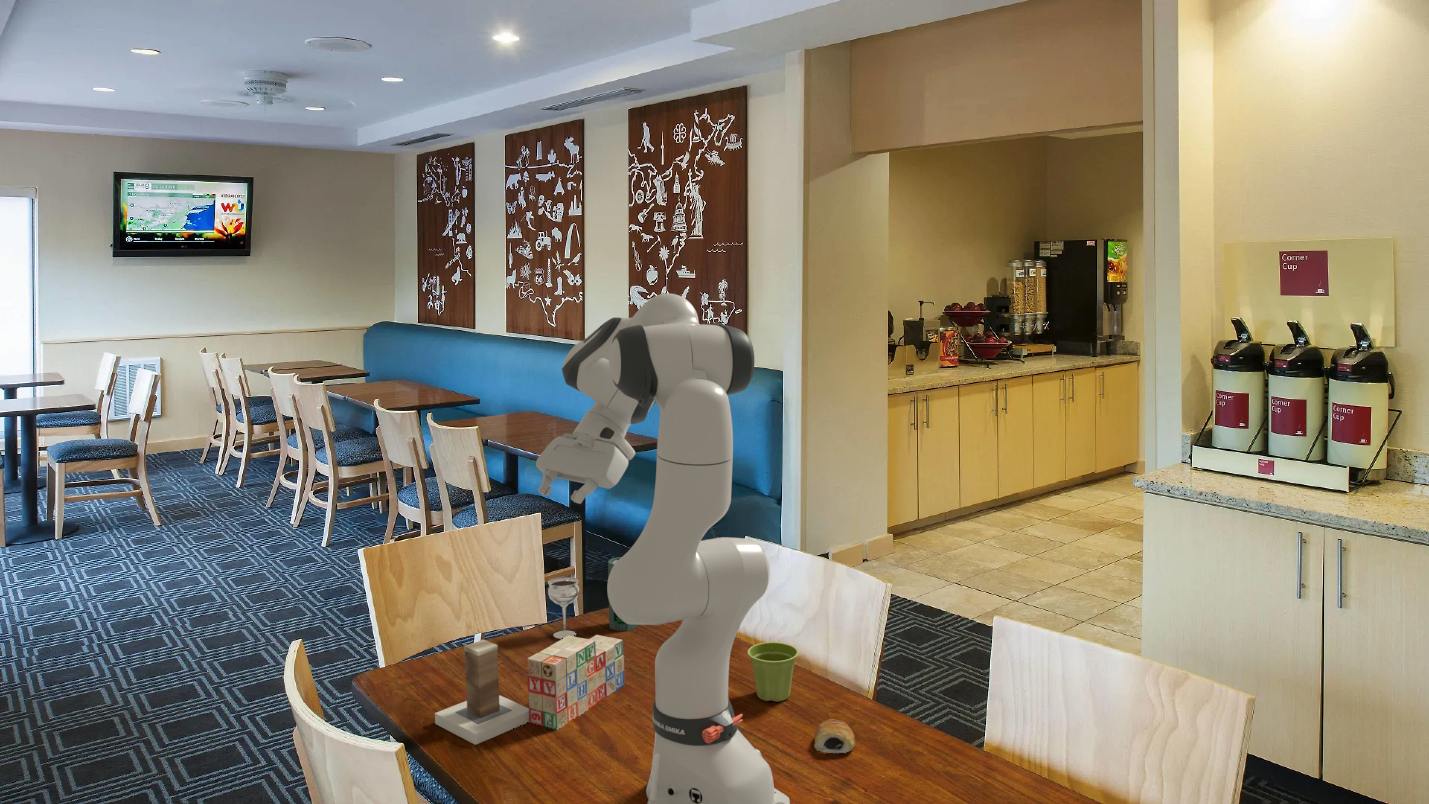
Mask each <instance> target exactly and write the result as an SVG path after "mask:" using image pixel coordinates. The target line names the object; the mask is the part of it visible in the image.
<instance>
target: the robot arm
mask: <svg viewBox="0 0 1429 804" xmlns="http://www.w3.org/2000/svg"><path fill="white" fill-rule="evenodd" d="M755 361H756V360H755V352H754V345H753V343H752V340H751V339H750V337H749V336H748V335H747V334H746V333H745V332H744V331H743V330H742V329H739V328H737V327H734V326H729V325H725V324H723V323H720V322H718V321H716V322H715V323H714V324H713V323H712V324H705V323H703V324H700V321H699V316H698V313H697V310H696V308H695V307H694V306H693V304H692V303H691V302H690V301H689V300H687V299H686V298H685V297H683V296H681V295H679V294H676V293H669V292H667V293H661V294H657V295H655V296H653V297H651V298H650V299H649V300H647V301H646V302H645V303H644V304H643V305H641V306H640V307H639V309H638V310H637V311H636V312H635V313H634V315H633V316H632V317H611V318H609V319H608V320H607V321H605V322H603V323H602V324H601V325H600V326H598V327H597V328H596V329H595V330H594V331H592V333H591V334H589V335H588V336H587V337H586V338H584V339H582V340H581V341H579V342H577V343H576V344H575V345H574V346H573V347H572V348H571V349H570V350H569V352H568V353H567V355H566V356H565V358H564V361H563V363H562V367H561V371H562V372H561V373H562V376H563V379H564V382H565V385H567V386H569V387H570V388H573V389H574V390H577V391H578V392H581V393H583V395H586V396H587V397H589V398H591V399H592V400H593V401H594V404H593V406H592V407H590V408H589V409H588V410H587V412H585V413H584V415H583V416H582V418H581V419H580V421H579V423H578V424H577V426H576V427H575V429H574V430H573V432H572V433H568V432H566V433H564V434H563V435H560V436H557V437H556V438H554V439H553V440H551V442H550V443H549V444H548V445H547V446H546V447H545V449H544V450H543V451H542V452H541V454H540V455H539V456H538V458H537V459H536V461H535V466H536V468H537V469H538V470H539V471H540V472H541V473H542V478H541V484H540V485H539V487H538V489H537V492H538V493H539V494H541V496H546V497H547V496H549V495H550V493H551V492H552V491H553V488H552V482H555V481H556V479H562V480H565V481H566V480H567V481H571V482H577V483H580V484H583V485H582V486H580V488H579V489H578V490H573V492H572V494H571V495H570V500H572V501H573V503H576V504H579V505H581V504H582V503H583V501H584V500H585V498H586V497H588V496H589V495H590V494H593V492H595V491H596V489H597V488H598V487H600V488H604V489H608V490H610V489H611V488H614V487H615V486H616V485H617V484H618V483H619V482H620V480H621V479H622V477H623V476H624V473H625V472H626V470H627V469H628V467H629V461H631V460H632V459H633V458H634V457H635V456H636V451H635V449H634V447H632V446H631V444H630V443H629V442H628V441H627V440H626V436H627V432H628V430H629V428H630V426H631V425H635V424H639V423H643V422H645V420H646V418H647V415H648V413H649V411H650V410H651V408H652V407H653V406H654V405H655V404H657V406H658V409H659V424H658V432H657V433H658V435H657V440H656V441H657V442H656V444H657V445H656V449H657V450H656V466H655V467H656V470H655V471H656V472H655V483H654V485H655V486H654V495H653V503H652V508H651V511H650V513H649V517H648V520H647V521H646V524H645V525H644V527H643V530H642V531H641V533H640V535H639V536H638V538H637V539H636V540H635V542H634V544H633V545H632V546H631V547H630V549H628V551H627V552H626V553H625V554H624V555H623V556H621V557H622V558H620V557H619V558H620V559H619V560H618V561H617V562H616V563H615V565H614V566H613V568H612V570H611V572H610V575H609V578H608V577H607V578H608V579H607V585H606V586H607V587H606V588H607V598H608V603H609V602H610V604H611V607H612V609H613V610H614V612H615V613H616V614H617V616H618V617H619V618H620V619H621V620H623V621H624V622H625V623H627V624H633V625H638V626H639V625H640V626H658V625H659V626H660V625H663V624H664V625H665V624H669V623H675V622H679V621H681V624H680V625H679V627H678V628H677V630H676V631H675V632H674V633H673V634H672V635H671V636H669V638H668V639H667V640H666V641H664V642H663V643H662V644H661V646H660V647H659V649H658V651H657V653H656V655H655V660H654V682H655V683H654V685H655V686H654V687H655V689H654V690H655V691H654V692H655V700H653V703H652V704H653V705H652V714H651V719H652V728H653V730H654V732H655V733H654V734H655V735H654V744H653V753H652V761H651V768H650V769H651V770H650V775H649V778H648V782H647V786H646V789H645V793H646V797H647V799H648V800H647V804H791V801H790V798H789V796H787V795H786V794H785V793H783V792H781V791H779V789H777V788H775V787H774V786H775V785H774V777H773V773H772V769H771V767H770V764H769V763H768V762H767V761H766V760H765V758H763V756H762V752H761V751H760V750H759V749H758V748H755V747H754V746H753V745H752V744H751V742H749V741H748V739H747V738H746V737H745V735H743V734H742V733H741V731H740V730H739V725H738V724H739V723H741V722H742V721H744V720H743V719H741V718H742V717H743V713H740V714H738V715H736V716H735V712H734V709H733V705H732V703H731V701H730V699H729V676H730V673H729V672H730V670H729V669H730V660H731V659H730V658H731V652H732V649H733V645H734V642H735V639H736V635H737V633H738V631H739V629H740V627H741V625H742V623H743V621H744V619H745V618H746V616H747V614H748V613H749V612H750V610H751V609H752V607H753V606H755V604H756V603H757V602H758V601H760V599H761V598H762V597H763V596H764V595H765V593H766V591H767V590H768V587H769V583H770V579H771V577H770V576H771V569H770V563H769V561H768V560H769V559H768V557H767V555H766V553H765V551H764V550H763V548H762V547H760V546H761V545H759V544H758V543H757V542H756V541H754V540H753V539H751V538H741V537H727V536H726V537H724V536H722V537H721V536H720V537H716V538H710V539H703V537H704V536H705V535H706V534H707V532H708V530H709V529H711V528H712V527H713V526H714V525H715V524H716V523H718V522H719V521H720V520H722V518H723V517H724V516H725V515H726V514H727V513H728V511H729V509H730V505H731V503H732V485H733V484H732V483H733V482H732V481H733V478H732V477H733V461H734V460H733V459H734V456H733V455H734V431H733V419H732V411H731V404H730V400H729V395H730V396H731V395H734V394H735V395H736V394H738V393H740V392H743V391H745V390H746V389H747V388H748V386H749V385H750V383H751V382H752V379H753V376H754V371H755ZM702 539H703V540H702Z"/></svg>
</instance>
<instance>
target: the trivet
mask: <svg viewBox="0 0 1429 804" xmlns="http://www.w3.org/2000/svg"><path fill="white" fill-rule="evenodd" d="M499 706H500V711H497V712H495V713H493V714H490V715H488V716H485V717H483V718H479V717H477V716H475V715H473V714H471V713H469V712H467V700H465V701H463V702H460V703H457V704H455V705H452V706H449V707H447V708H444V709H442V710H439V711H437V712H434V723H435V725H437V726H439V727H441V728H443V729H444V730H446V731H448V732H450V733H451V734H454V735H456V736H458V737H460V738H462V739H463V740H465V741H467V742H469V743H471V744H473V745H475V746H477V745H478V744H481V743H483V742H486V741H488V740H490V739H493V738H495V737H497V736H499V735H501V734H505V733H506V732H509V731H511V730H513V728H514V729H516V728H518V727H520V725H521V726H523V725H525V724H527V722H528V723H530V722H529V707H527V706H525V705H522V704H520V703H518V702H515V701H513V700H511V699H509V698H507V697H506V696H505V697H504V696H502V695H500V694H499Z"/></svg>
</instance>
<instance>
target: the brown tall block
mask: <svg viewBox="0 0 1429 804" xmlns="http://www.w3.org/2000/svg"><path fill="white" fill-rule="evenodd" d="M498 646H499V645H498V644H496V643H493V642H491V641H488V640H485V639H481V640H478V641H475V642H472V643H469V644H467V645H463V651H464V664H465V665H464V666H465V667H464V668H465V687H466V688H465V689H466V701H467V712H469V713H471V714H473V715H475V716H477V717H479V718H483V717H485V716H488V715H490V714H493V713H495V712H497V711H500V706H499V695H500V685H499V664H498V662H499V660H498V658H499V657H498V649H499V648H498Z"/></svg>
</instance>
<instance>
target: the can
mask: <svg viewBox="0 0 1429 804" xmlns="http://www.w3.org/2000/svg"><path fill="white" fill-rule="evenodd" d="M622 557H623V556H620V557H619V556H617V557H612V558H610V559H609V560H607V576H608V577H607V578H609V575H610V572H611V570H612V568H613V566H614V565H615V563H616V562H617V561H618V560H619V559H620V558H622ZM608 620H609V621H608V622H609V628H610V629H611V630H614V631H618V632H619V631H620V632H625V631H628V632H630V631H632V630H635V629H636V628H638V626H639V625H633V624H627V623H625V622H624V621H623V620H621V619H620V618H619V617H618V616H617V614H616V613H615V612H614V610H613V609H612V607H611V604H610V602H609V601H608Z"/></svg>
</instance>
